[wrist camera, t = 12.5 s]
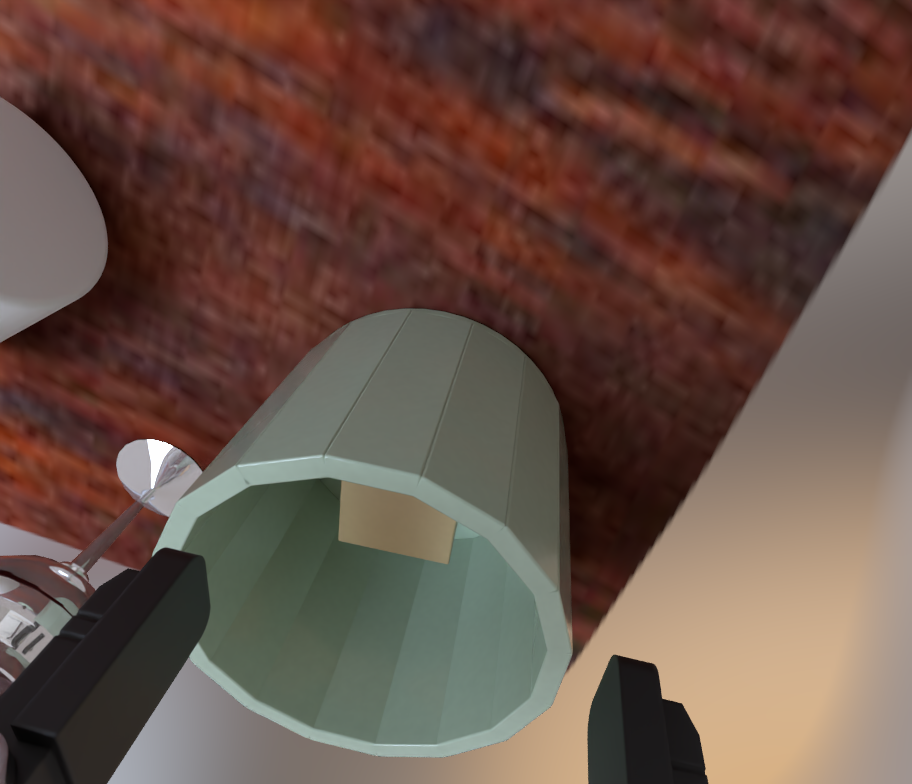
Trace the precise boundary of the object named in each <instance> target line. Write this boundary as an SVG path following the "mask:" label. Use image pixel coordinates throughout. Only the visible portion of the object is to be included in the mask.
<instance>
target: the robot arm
mask: <svg viewBox="0 0 912 784" xmlns="http://www.w3.org/2000/svg"><path fill="white" fill-rule="evenodd" d="M210 609H211V605H210V596H209V588H208V579H207V571H206V563H205V559H204V557H203V556H201V555H197V554H193V553H189V552H185V551H180V550H176V549H172V548H168V547H164V548H162V549H160V550H159V551H157V552H156V553H155V554H154V555H153V557H152V558H151V559H150V560H149V561H148V562H147V564H146V565H145V566H144V567H143V568H142V570H141V571H136V570H132V569H127V570H125V571H123V572H122V573H120V574H119V575H117V576H115V577H114V578H112V579H111V580H109V581H108V582H106V583H104V584H103V585H101V586H100V587H99V588H98V589H97V590H96V591H95V592H94V593H93V594H92V595H91V597H90V598H89V599H88V600H87V601H86V602H85V603H84V604H83V605H82V607H81V608H80V609H79V610H78V613H77V615H76V616H75V615H73V616H72V618H71V619H70V620H69V621H68V622H67V623H66V624H65V625H64V626H63V628H62V629H61V630H60V633H59V635H58V636H56V635H55V636H54V638H53V639H52V640H51V641H50V642H49V643H48V644H47V645H46V646H45V648H44V649H43V650H42V651H41V652H40V653H39V654H38V655H37V656H36V658H35V659H34V660H33V661H32V662H31V663H30V664H29V665H28V666H27V667H26V669H25V670H24V671H23V672H22V673H21V674H20V675H19V676H18V677H17V679H16V680H15V681H14V682H13V683H12V684H11V685H10V686H9V687H8V689H7V690H6V691H5V692H4V693H3V694H2V695H1V696H0V784H107V783H108V781H109V780H110V778H111V777H112V775H113V774H114V772H115V770H116V769H117V767H118V766H119V764H120V763H121V761H122V760H123V758H124V756H125V755H126V753H127V752H128V750H129V749H130V747H131V745H132V744H133V743H134V741H135V740H136V738H137V736H138V735H139V733H140V732H141V730H142V729H143V727H144V726H145V724H146V722H147V721H148V719H149V718H150V716H151V715H152V713H153V712H154V710H155V708H156V707H157V705H158V704H159V702H160V701H161V699H162V698H163V696H164V694H165V693H166V691H167V690H168V688H169V687H170V685H171V684H172V682H173V681H174V679H175V677H176V676H177V674H178V673H179V671H180V670H181V668H182V667H183V665H184V663H185V662H186V660H187V659H188V657H189V656H190V654H191V653H192V651H193V650H194V648H195V647H196V645H197V643H198V642H199V640H200V639H201V637H202V635H203V633H204V631H205V629H206V626H207V623H208V620H209V616H210ZM588 781H589V784H708V779H707V776H706V775H705V764H704V758H703V753H702V747H701V742H700V737H699V734H698V732H697V730H696V729H695V727H694V725H693V723H692V721H691V719H690V717H689V715H688V714H687V712H686V710H685V708H684V706H683V705H682V703H677V702H673V701H669V700H665V699H662V695H661V687H660V680H659V674H658V670H657V668H656V666H655V665H654V664H652V663H647V662H644V661H639V660H635V659H631V658H626V657H622V656H618V655H613V656H612V657H611V659H610V661H609V663H608V666H607V668H606V670H605V673H604V675H603V678H602V680H601V682H600V685H599V687H598V689H597V692H596V694H595V696H594V699H593V701H592V705H591V709H590V714H589V721H588Z"/></svg>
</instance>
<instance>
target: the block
mask: <svg viewBox="0 0 912 784" xmlns="http://www.w3.org/2000/svg"><path fill="white" fill-rule="evenodd" d="M457 524H458V522H456V521H455V520H453V519H451V518H450V517H448V516H446V515H444V514H443V513H441V512H439V511H437V510H436V509H434V508H432V507H431V506H429V505H427V504H425V503H424V502H422V501H420V500H418V499H417V498H415V497H413V496H409V495H405V494H400V493H396V492H391V491H387V490H382V489H378V488H373V487H369V486H364V485H360V484H356V483H351V482H347V481H342V480H341V495H340V514H339V534H338V540H339V541H342V542H346V543H351V544H356V545H360V546H365V547H369V548H374V549H379V550H383V551H388V552H392V553H397V554H402V555H406V556H411V557H415V558H420V559H425V560H429V561H434V562H438V563H443V564H449V561H450V556H451V552H452V547H453V543H454V538H455V534H456V529H457Z"/></svg>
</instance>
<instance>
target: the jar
mask: <svg viewBox="0 0 912 784" xmlns="http://www.w3.org/2000/svg"><path fill="white" fill-rule="evenodd" d="M341 480H342V481H347V482H351V483H356V484H360V485H364V486H369V487H373V488H378V489H382V490H387V491H391V492H396V493H400V494H405V495H409V496H413V497H415V498H417V499H418V500H420V501H422V502H424V503H425V504H427V505H429V506H431V507H432V508H434V509H436V510H437V511H439V512H441V513H443V514H444V515H446V516H448V517H450V518H451V519H453V520H455V521H456V522H458V524H457V529H456V534H455V538H454V543H453V547H452V552H451V556H450V561H449V564H443V563H438V562H434V561H429V560H425V559H420V558H415V557H411V556H406V555H402V554H397V553H392V552H388V551H383V550H379V549H374V548H369V547H365V546H360V545H356V544H351V543H346V542H342V541H339V540H338V534H339V514H340V495H341ZM164 547H168V548H172V549H176V550H180V551H185V552H189V553H193V554H197V555H201V556H203V557H204V559H205V563H206V571H207V579H208V588H209V596H210V605H211V609H210V616H209V620H208V623H207V626H206V629H205V631H204V633H203V635H202V637H201V639H200V640H199V642H198V643H197V645H196V647H195V648H194V650H193V651H192V653H191V654H190V656H189V658H190V659H191V661H192V663H193V664H195V665H196V666H197V667H198V668H199V669H200V670H201V671H203V672H204V673H205V674H206V675H207V676H209V677H210V678H211V679H212V680H213V681H215V682H216V683H217V684H218V685H219V686H221V687H222V688H223V689H224V690H225V691H227V692H228V693H229V694H230V695H231V696H232V697H233V698H235V699H236V700H237V701H238V702H239V703H241V704H242V705H243V706H244V707H247V708H248V709H249V710H251V711H253V712H255V713H257V714H259V715H261V716H263V717H265V718H267V719H269V720H271V721H273V722H275V723H277V724H280V725H281V726H284V727H286V728H287V729H290V730H291V731H293V732H296V733H297V734H300V735H302V736H303V737H306V738H310V739H311V740H314V741H319V742H322V743H326V744H330V745H335V746H339V747H342V748H346V749H350V750H354V751H358V752H362V753H366V754H370V755H374V756H376V755H377V756H379V757H381V756H383V757H440V758H442V757H448V756H452V755H456V754H459V753H463V752H467V751H471V750H474V749H478V748H482V747H485V746H489V745H492V744H496V743H500V742H504V741H505V740H508V739H509V738H511V737H512V736H513V735H515V734H516V733H517V732H519V731H520V730H521V729H523V728H524V727H525V726H526V725H528V724H529V723H530V722H531V721H533V720H534V719H535V718H537V717H538V716H540V715H541V714H542V713H543V712H545V711H546V710H547V709H549V708H550V707H551V706H552V704H553V702H554V699H555V697H556V694H557V691H558V689H559V687H560V684H561V682H562V679H563V677H564V674H565V672H566V669H567V667H568V664H569V662H570V659H571V657H572V651H573V649H572V608H571V567H570V526H569V484H568V451H567V445H566V439H565V433H564V423H563V419H562V415H561V411H560V406H559V404H558V401H557V400H556V397H555V395H554V393H553V390H552V388H551V387H550V385H549V384H548V382H547V380H546V379H545V377H544V375H543V374H542V373H541V371H540V370H539V369H538V368H537V366H536V365H535V364H534V363H533V362H532V360H531V359H530V358H529V357H528V356H527V355H526V354H524V353H523V352H522V351H521V350H520V349H519V348H518V347H517V346H516V345H514V344H513V343H512V342H510V341H509V340H508V339H506V338H505V337H503V336H502V335H501V334H499V333H497V332H495V331H493V330H492V329H490V328H488V327H486V326H484V325H483V324H480V323H478V322H475V321H473V320H470V319H468V318H465V317H462V316H458V315H455V314H451V313H447V312H443V311H436V310H429V309H396V310H387V311H382V312H378V313H374V314H370V315H366V316H364V317H362V318H359V319H357V320H354V321H352V322H349V323H348V324H346V325H344V326H343V327H341V328H339V329H338V330H336V331H334V332H333V333H332V334H331V335H330V336H328V337H327V338H326V339H325V340H323V341H322V342H321V343H320V344H318V345H317V346H315V347H314V348H312V349H311V350H310V351H309V352H308V353H307V355H306V356H305V357H304V358H303V359H302V360H301V361H300V363H299V364H298V365H297V366H296V367H295V368H294V369H293V371H292V372H291V373H290V374H289V375H288V376H287V377H286V378H285V380H284V381H283V382H282V383H281V384H280V385H279V386H278V388H277V389H276V390H275V391H274V392H273V393H272V394H271V395H270V397H269V398H268V399H267V400H266V401H265V402H264V403H263V405H262V406H261V407H260V408H259V409H258V410H257V411H256V413H255V414H254V415H253V416H252V417H251V418H250V419H249V420H248V422H247V423H246V424H245V425H244V426H243V427H242V428H241V430H240V431H239V432H238V433H237V434H236V435H235V436H234V437H233V439H232V440H231V441H230V442H229V443H228V444H227V445H226V447H225V448H224V449H223V450H222V451H221V452H220V453H219V455H218V456H217V457H216V458H215V459H214V460H213V461H212V462H211V464H210V465H209V466H208V467H207V468H206V469H205V470H204V472H203V473H202V474H201V475H200V476H199V477H198V478H197V479H196V481H195V482H194V483H193V484H192V485H191V486H190V487H189V489H188V490H187V491H186V492H185V493H184V494H183V495H182V497H181V498H180V499H179V500H178V501H177V502H176V504H175V506H174V508H173V510H172V512H171V515H170V517H169V519H168V521H167V523H166V525H165V528H164V530H163V532H162V534H161V536H160V538H159V540H158V543H157V545H156V547H155V549H154V551H153V555H154V554H155V553H156V552H157V551H159V550H160V549H162V548H164ZM153 555H152V557H153Z"/></svg>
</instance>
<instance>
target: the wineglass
mask: <svg viewBox="0 0 912 784" xmlns="http://www.w3.org/2000/svg"><path fill="white" fill-rule="evenodd" d="M116 465H117V471H118V476H119V478H120V480H121V482H122V484H123V486H124V488H125V489H126V490H127V491H128V492H129V494H130V495H131V496H132V497H133V498H134V499H135V500H136V502H135V503H134V504H132V505H131V506H130V507H129V508H128V509H127V510H126V511H125V512H124V513H123V514H122V515H121V516H120V517H119V518H117V519H116V520H115V521H114V522H113V523H112V524H111V525H110V526H109V527H108V528H107V529H106V530H105V531H104V532H103V533H101V534H100V535H99V536H98V537H97V538H96V539H95V540H94V541H93V542H92V543H91V544H90V545H89V546H88V547H87V548H85V549H84V550H83V551H82V552H81V553H80V554H79V555H78V556H77V557H76V558H75V559H74V560H73V561H72V562H60V563H59V562H57V561H55V560H53V559H49V558H45V557H41V556H36V555H18V556H0V696H1V695H2V694H3V693H4V692H5V691H6V690H7V689H8V687H9V686H10V685H11V684H12V683H13V682H14V681H15V680H16V679H17V677H18V676H19V675H20V674H21V673H22V672H23V671H24V670H25V669H26V667H27V666H28V665H29V664H30V663H31V662H32V661H33V660H34V659H35V658H36V656H37V655H38V654H39V653H40V652H41V651H42V650H43V649H44V648H45V646H46V645H47V644H48V643H49V642H50V641H51V640H52V639H53V638H54V636H55V635H56V636H58V635H59V633H60V630H61V629H62V628H63V626H64V625H65V624H66V623H67V622H68V621H69V620H70V619H71V618H72V616H73V615H75V616H76V615H77V613H78V610H79V609H80V608H81V607H82V605H83V604H84V603H85V602H86V601H87V600H88V599H89V598H90V597H91V595H92V594H93V593H94V592H95V589H94V588H93V587H92V586H91V585H90V584H89V583H88V582H89V578H88V575H87V572H88V571H89V570H90V569H91V568H92V566H93V565H94V564H95V563H96V562H97V560H98V559H99V558H100V557H101V556H102V555H103V554H104V552H105V551H106V550H107V549H108V548H109V547H110V545H111V544H112V543H113V542H114V541H115V540H116V538H117V537H118V536H119V535H120V534H121V533H122V531H123V530H124V529H125V528H126V527H127V526H128V525H129V523H130V522H131V521H132V520H133V519H134V518H135V516H136V515H137V514H138V513H139V512H140V511H141V509H142V508H143V507H146V508H147V509H149V510H151V511H154V512H156V513H158V514H160V515H164V516H168V517H170V515H171V512H172V510H173V508H174V506H175V504H176V502H177V501H178V500H179V499H180V498H181V497H182V495H183V494H184V493H185V492H186V491H187V490H188V489H189V487H190V486H191V485H192V484H193V483H194V482H195V481H196V479H197V478H198V477H199V476H200V475H201V474H202V473H203V472H202V471H201V469H200V468H199V467H198V465H197V464H196V463H195V462H194V460H192V459H191V458H190V457H189V456H187V455H186V454H185V453H184V452H182V451H181V450H179V449H177V448H175V447H173V446H171V445H169V444H167V443H164V442H160V441H156V440H151V439H149V440H136V441H134V442H131V443H129V444H127V445H125V447H124V448H123V449H122V450H121V451H120V452H119V455H118V459H117V463H116Z"/></svg>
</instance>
